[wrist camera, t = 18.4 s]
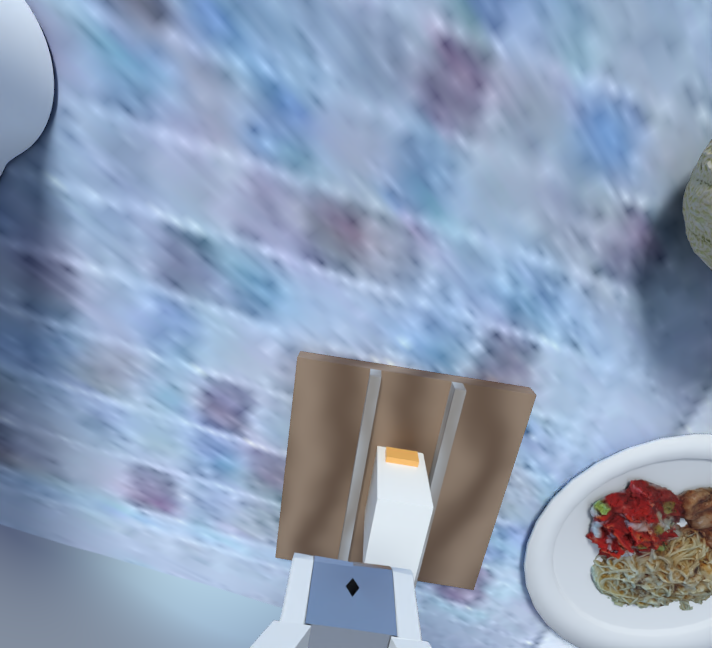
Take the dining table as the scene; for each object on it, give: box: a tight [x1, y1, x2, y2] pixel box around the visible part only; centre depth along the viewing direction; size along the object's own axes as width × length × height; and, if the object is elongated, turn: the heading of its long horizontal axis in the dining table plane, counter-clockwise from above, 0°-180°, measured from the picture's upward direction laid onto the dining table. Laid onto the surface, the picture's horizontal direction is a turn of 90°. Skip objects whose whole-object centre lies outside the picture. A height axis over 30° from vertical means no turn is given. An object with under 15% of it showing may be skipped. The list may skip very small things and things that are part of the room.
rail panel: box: [275, 351, 536, 590], centre depth 38 cm, size 22×24×3 cm
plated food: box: [524, 434, 712, 648], centre depth 39 cm, size 30×30×3 cm
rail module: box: [363, 446, 433, 581], centre depth 34 cm, size 4×9×7 cm, turn 171°
